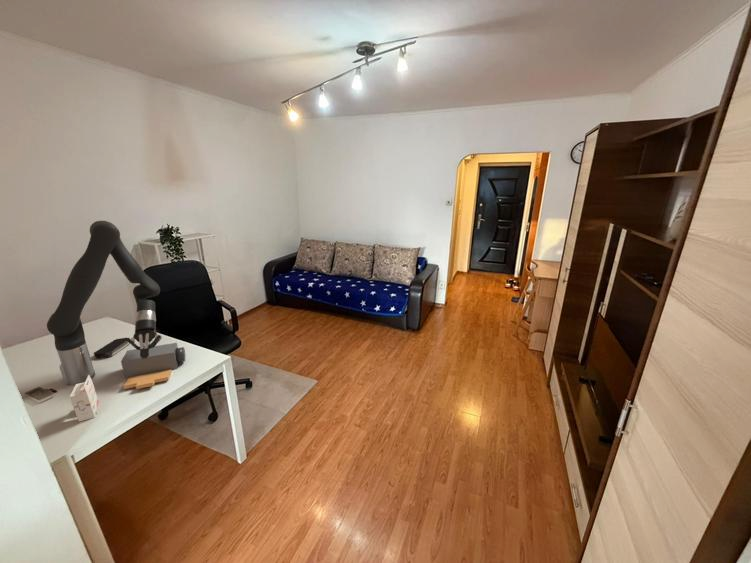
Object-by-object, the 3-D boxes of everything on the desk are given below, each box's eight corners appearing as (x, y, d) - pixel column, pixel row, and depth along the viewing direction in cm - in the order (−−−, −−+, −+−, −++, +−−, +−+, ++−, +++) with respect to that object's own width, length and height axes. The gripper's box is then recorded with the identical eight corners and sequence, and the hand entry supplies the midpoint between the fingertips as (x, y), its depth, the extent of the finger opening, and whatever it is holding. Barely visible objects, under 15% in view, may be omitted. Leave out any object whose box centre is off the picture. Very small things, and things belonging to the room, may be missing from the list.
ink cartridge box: (83, 408, 117) (73, 377, 113) (99, 404, 120) (90, 373, 115) (77, 422, 111) (66, 390, 106) (95, 417, 113) (85, 385, 109)
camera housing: (125, 380, 135) (120, 361, 131) (131, 368, 143) (127, 350, 140) (184, 369, 144) (181, 351, 141) (186, 358, 153) (183, 341, 150)
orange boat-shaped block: (130, 380, 134) (121, 392, 123) (129, 377, 134) (120, 388, 123) (172, 372, 141) (166, 382, 130) (171, 369, 141) (166, 379, 130)
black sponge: (110, 359, 150) (108, 352, 149) (93, 359, 149) (91, 352, 148) (133, 343, 166) (132, 337, 164) (117, 343, 165) (116, 337, 164)
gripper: (125, 320, 132) (122, 358, 125) (160, 316, 137) (160, 352, 131) (130, 326, 138) (128, 363, 131) (164, 322, 143) (164, 357, 137)
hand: (144, 357), depth 131 cm, fingers closed
